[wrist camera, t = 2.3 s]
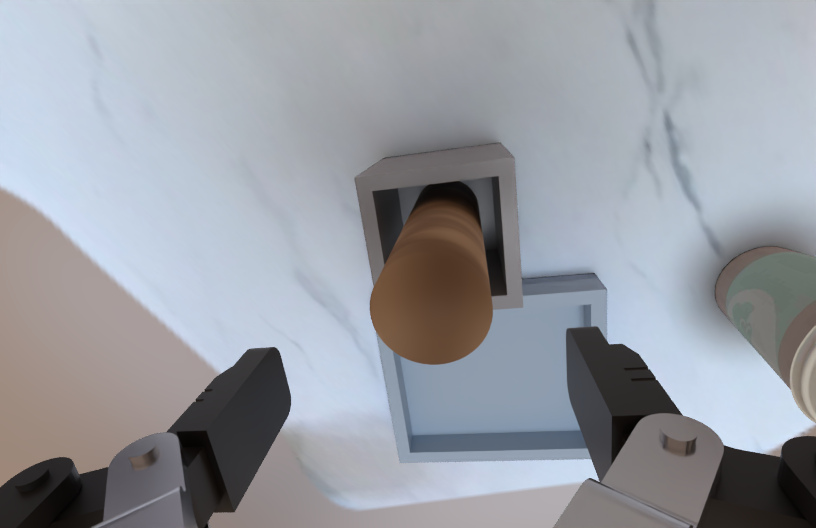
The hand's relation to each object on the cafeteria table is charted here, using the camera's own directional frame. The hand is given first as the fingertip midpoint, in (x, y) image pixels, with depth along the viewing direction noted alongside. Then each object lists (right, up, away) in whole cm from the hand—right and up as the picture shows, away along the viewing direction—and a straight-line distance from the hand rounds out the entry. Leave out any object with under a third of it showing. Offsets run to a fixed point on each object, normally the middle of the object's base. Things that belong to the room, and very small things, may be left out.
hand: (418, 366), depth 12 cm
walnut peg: (+2, +7, +19) cm, 20 cm away
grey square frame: (+3, +7, +19) cm, 21 cm away
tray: (+6, -5, +23) cm, 25 cm away
